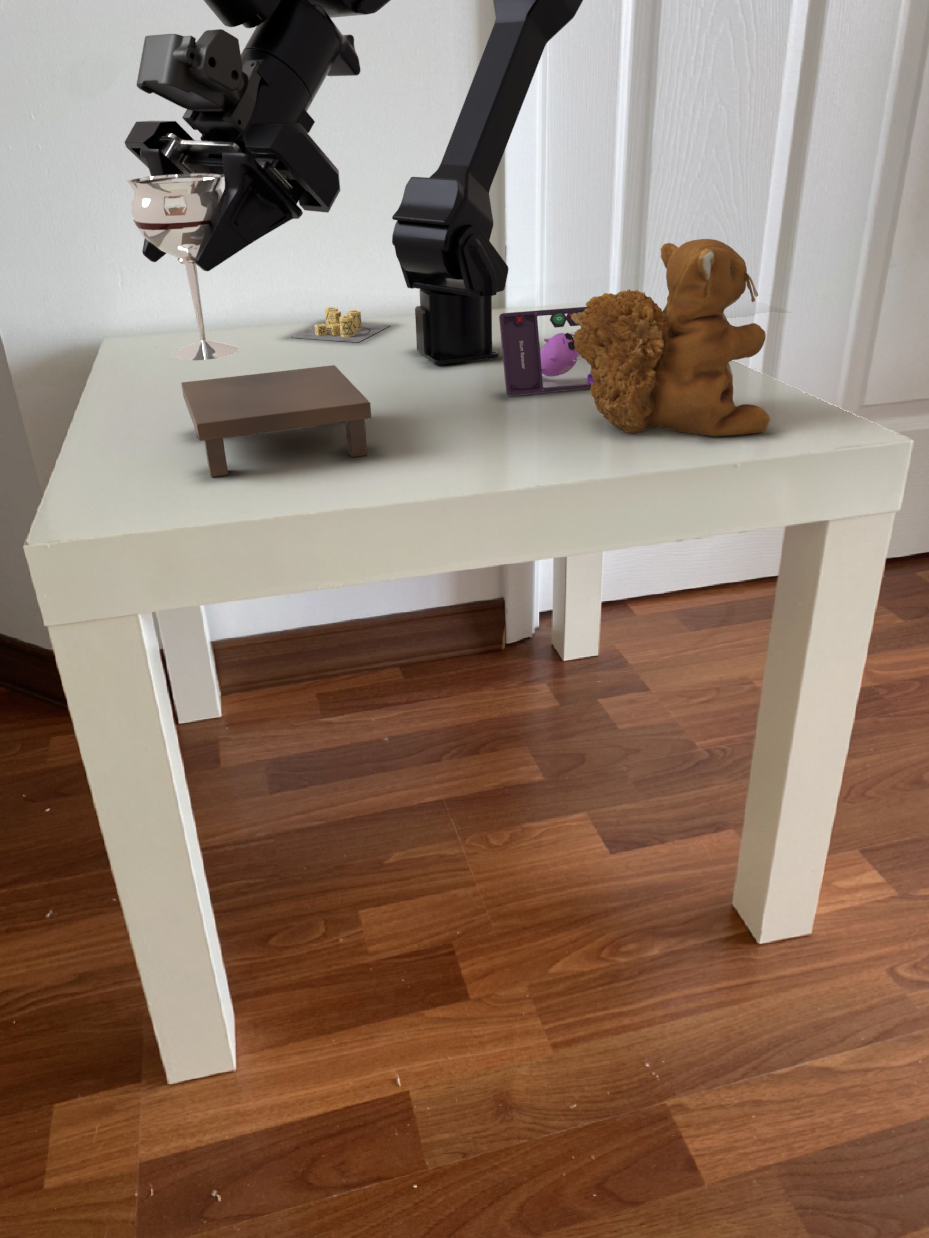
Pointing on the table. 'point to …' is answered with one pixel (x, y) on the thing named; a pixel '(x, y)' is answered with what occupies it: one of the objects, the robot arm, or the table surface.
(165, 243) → the wineglass
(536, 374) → the game card
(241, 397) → the side table
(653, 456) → the table surface
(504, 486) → the table surface
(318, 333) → the dice set
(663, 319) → the stuffed squirrel
